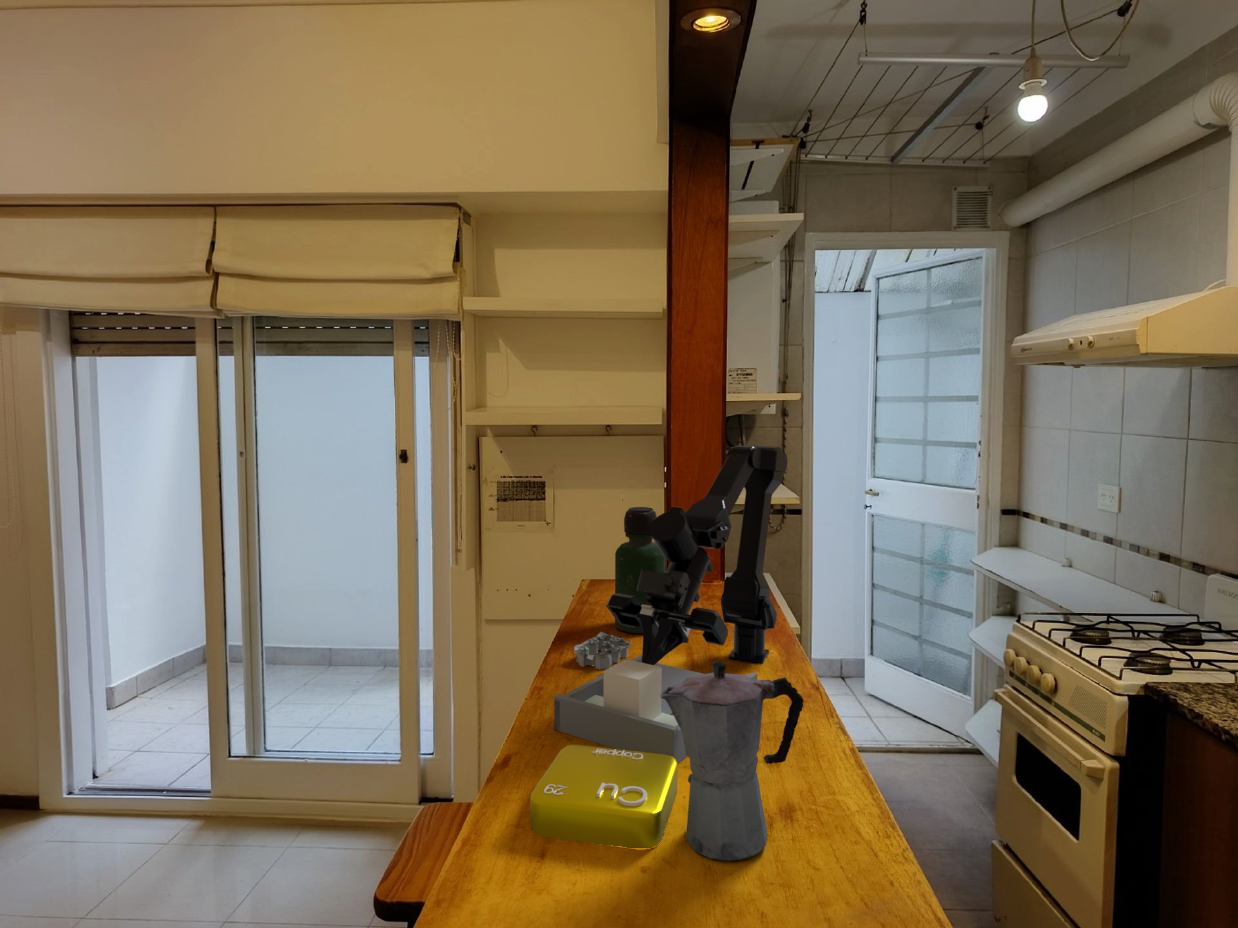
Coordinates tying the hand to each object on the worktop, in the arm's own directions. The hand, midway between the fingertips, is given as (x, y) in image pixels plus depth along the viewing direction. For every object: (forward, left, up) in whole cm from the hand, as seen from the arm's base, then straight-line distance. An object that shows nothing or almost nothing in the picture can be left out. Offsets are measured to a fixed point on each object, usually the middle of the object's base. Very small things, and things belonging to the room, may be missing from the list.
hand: (644, 667), depth 114 cm
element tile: (+23, +4, -9) cm, 25 cm away
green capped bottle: (-45, -17, -9) cm, 49 cm away
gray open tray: (-4, +1, -9) cm, 10 cm away
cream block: (+3, -1, -6) cm, 7 cm away
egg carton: (-24, -17, -9) cm, 31 cm away
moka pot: (+24, +19, -9) cm, 32 cm away
